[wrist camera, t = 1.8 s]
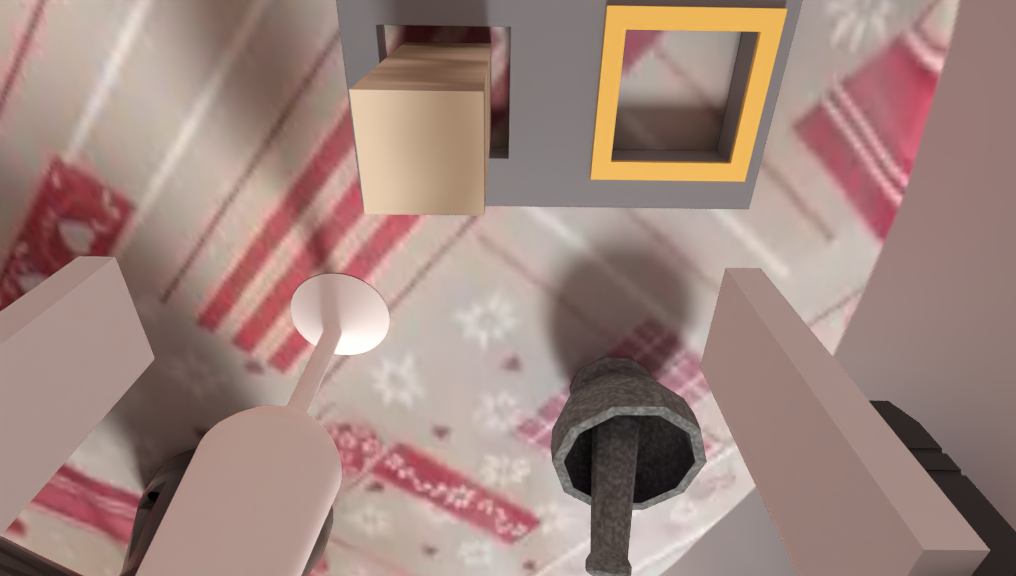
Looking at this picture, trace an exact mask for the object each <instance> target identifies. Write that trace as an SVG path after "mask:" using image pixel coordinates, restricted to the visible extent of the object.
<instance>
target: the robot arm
mask: <svg viewBox="0 0 1016 576" xmlns="http://www.w3.org/2000/svg"><path fill="white" fill-rule="evenodd" d="M154 359H155V357H154V355H153V352H152V350H151V347H150V345H149V342H148V339H147V337H146V334H145V332H144V329H143V327H142V324H141V321H140V319H139V316H138V314H137V311H136V309H135V306H134V303H133V301H132V298H131V296H130V293H129V291H128V288H127V285H126V283H125V280H124V278H123V275H122V273H121V270H120V267H119V265H118V262H117V260H116V257H100V256H79V257H77V258H76V259H74V260H73V261H71V262H70V263H69V264H67V265H66V266H64V267H63V268H62V269H60V270H59V271H57V272H56V273H54V274H53V275H52V276H50V277H49V278H47V279H46V280H44V281H43V282H42V283H40V284H39V285H37V286H36V287H35V288H33V289H32V290H30V291H29V292H27V293H26V294H25V295H23V296H22V297H20V298H19V299H17V300H16V301H15V302H13V303H12V304H10V305H9V306H8V307H6V308H5V309H3V310H2V311H0V576H83V575H81V574H78V573H76V572H74V571H72V570H70V569H68V568H66V567H64V566H61V565H59V564H57V563H55V562H53V561H51V560H49V559H47V558H44V557H42V556H40V555H38V554H36V553H34V552H32V551H30V550H28V549H26V548H24V547H22V546H20V545H18V544H16V543H14V542H12V541H10V540H8V539H6V538H4V537H2V536H1V535H2V534H3V533H4V532H5V530H6V529H7V528H8V527H9V526H10V525H11V523H12V522H13V521H14V520H15V519H16V518H17V517H18V515H19V514H20V513H21V512H22V511H23V510H24V509H25V507H26V506H27V505H28V504H29V503H30V502H31V501H32V499H33V498H34V497H35V496H36V495H37V494H38V492H39V491H40V490H41V489H42V488H43V487H44V486H45V484H46V483H47V482H48V481H49V480H50V479H51V478H52V476H53V475H54V474H55V473H56V472H57V471H58V470H59V468H60V467H61V466H62V465H63V464H64V463H65V461H66V460H67V459H68V458H69V457H70V456H71V455H72V453H73V452H74V451H75V450H76V449H77V448H78V447H79V445H80V444H81V443H82V442H83V441H84V440H85V439H86V437H87V436H88V435H89V434H90V433H91V432H92V430H93V429H94V428H95V427H96V426H97V425H98V424H99V422H100V421H101V420H102V419H103V418H104V417H105V416H106V414H107V413H108V412H109V411H110V410H111V409H112V408H113V406H114V405H115V404H116V403H117V402H118V401H119V399H120V398H121V397H122V396H123V395H124V394H125V393H126V391H127V390H128V389H129V388H130V387H131V386H132V385H133V383H134V382H135V381H136V380H137V379H138V378H139V377H140V375H141V374H142V373H143V372H144V371H145V370H146V368H147V367H148V366H149V365H150V364H151V363H152V362H153V360H154ZM700 368H701V370H702V372H703V374H704V377H705V379H706V381H707V383H708V385H709V387H710V389H711V391H712V394H713V396H714V398H715V400H716V402H717V404H718V406H719V408H720V410H721V413H722V415H723V417H724V419H725V421H726V423H727V425H728V427H729V430H730V432H731V434H732V436H733V438H734V440H735V442H736V444H737V447H738V449H739V451H740V453H741V455H742V457H743V459H744V461H745V463H746V466H747V468H748V470H749V472H750V474H751V476H752V478H753V480H754V483H755V485H756V487H757V489H758V491H759V493H760V495H761V497H762V500H763V502H764V504H765V506H766V508H767V510H768V512H769V514H770V516H771V519H772V521H773V523H774V525H775V527H776V529H777V531H778V533H779V536H780V538H781V540H782V542H783V544H784V546H785V548H786V550H787V553H788V554H789V557H790V559H791V561H792V563H793V565H794V567H795V569H796V571H797V574H798V576H1016V532H1015V531H1014V529H1013V528H1012V527H1011V526H1010V525H1009V524H1008V523H1007V522H1006V521H1005V519H1004V518H1003V517H1002V516H1001V515H1000V514H999V512H998V511H997V510H996V509H995V508H994V507H993V506H992V505H991V504H990V502H989V501H988V500H987V499H986V498H985V497H984V496H983V495H982V493H981V492H980V491H979V490H978V489H977V488H976V486H975V485H974V484H973V483H972V482H971V481H970V480H969V479H968V477H967V476H962V475H961V469H960V468H959V467H958V466H957V465H956V464H955V463H954V462H953V461H952V459H951V458H950V457H949V456H948V455H947V454H943V453H942V448H941V447H940V446H939V445H938V443H937V442H936V441H934V439H933V438H932V437H931V436H930V434H929V433H928V432H927V431H926V430H925V429H924V428H923V427H922V426H921V424H920V423H919V422H917V421H916V420H914V419H913V418H912V417H910V416H909V415H907V414H906V413H905V412H903V411H902V410H900V409H899V408H897V407H896V406H894V405H893V404H891V403H890V402H889V401H868V400H867V398H866V397H865V396H864V395H863V393H862V392H861V391H860V390H859V389H858V387H857V386H856V385H855V384H854V382H853V381H852V380H851V379H850V377H849V376H848V375H847V374H846V373H845V371H844V370H843V369H842V368H841V367H840V365H839V364H838V363H837V362H836V360H835V359H834V358H833V357H832V355H831V354H830V353H829V352H828V350H827V349H826V348H825V347H824V346H823V344H822V343H821V342H820V341H819V339H818V338H817V337H816V336H815V334H814V333H813V332H812V331H811V330H810V328H809V327H808V326H807V325H806V323H805V322H804V321H803V320H802V319H801V317H800V316H799V315H798V314H797V312H796V311H795V310H794V309H793V307H792V306H791V305H790V304H789V303H788V301H787V300H786V299H785V298H784V296H783V295H782V294H781V293H780V292H779V290H778V289H777V288H776V287H775V285H774V284H773V283H772V282H771V280H770V279H769V278H768V277H767V276H766V274H765V273H764V272H763V271H762V269H761V268H726V269H725V272H724V276H723V280H722V284H721V288H720V292H719V296H718V300H717V303H716V307H715V311H714V315H713V319H712V323H711V327H710V331H709V334H708V338H707V342H706V346H705V350H704V354H703V358H702V362H701V366H700ZM195 451H196V450H192V451H188V452H186V453H183V454H180V455H178V456H176V457H174V458H172V459H171V460H169V461H168V462H167V463H165V464H164V465H163V466H162V467H161V468H160V469H159V471H158V472H157V474H156V475H155V477H154V478H153V479H152V481H151V482H150V484H149V485H148V487H147V488H146V490H145V492H144V493H143V495H142V497H141V500H140V502H139V505H138V509H137V513H136V517H135V521H134V525H133V529H132V533H131V537H130V541H129V545H128V549H127V553H126V557H125V561H124V565H123V569H122V571H121V574H120V576H135V575H136V573H137V571H138V569H139V567H140V565H141V563H142V561H143V559H144V557H145V555H146V552H147V550H148V548H149V546H150V544H151V542H152V540H153V538H154V536H155V534H156V532H157V530H158V528H159V526H160V524H161V521H162V519H163V517H164V515H165V513H166V511H167V509H168V507H169V505H170V503H171V501H172V499H173V497H174V495H175V493H176V491H177V488H178V486H179V484H180V482H181V480H182V478H183V476H184V474H185V472H186V470H187V468H188V466H189V464H190V462H191V460H192V458H193V455H194V453H195ZM332 524H333V512H332V507H331V508H330V510H329V513H328V515H327V517H326V519H325V522H324V524H323V526H322V529H321V531H320V533H319V536H318V538H317V540H316V543H315V545H314V547H313V549H312V552H311V554H310V556H309V559H308V561H307V563H306V566H305V568H304V570H303V573H302V575H301V576H308V575H309V574H310V572H311V571H312V569H313V568H314V566H315V565H316V563H317V562H318V561H319V559H320V558H321V556H322V554H323V552H324V550H325V547H326V544H327V541H328V538H329V534H330V531H331V528H332Z"/></svg>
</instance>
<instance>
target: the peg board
mask: <svg viewBox="0 0 1016 576" xmlns="http://www.w3.org/2000/svg"><path fill="white" fill-rule="evenodd" d="M802 1H803V0H336V4H337V12H338V19H339V27H340V35H341V43H342V51H343V58H344V66H345V74H346V82H347V90H348V97H349V105H350V113H351V121H352V129H353V136H354V144H355V152H356V160H357V168H358V175H359V183H360V191H361V199H362V204H364V203H363V195H362V187H361V179H360V172H359V164H358V156H357V148H356V140H355V132H354V124H353V116H352V109H351V101H350V93H349V89H350V88H351V87H353V86H354V85H355V84H356V83H357V82H358V81H360V80H361V79H362V78H363V77H364V76H365V75H367V74H368V73H369V72H370V71H371V70H372V69H374V68H375V67H376V66H377V65H378V64H380V63H381V62H382V61H383V60H384V59H385V58H387V53H386V42H385V31H384V25H434V26H493V27H511V30H510V90H509V148H490V150H489V163H488V176H487V188H486V201H485V206H536V207H612V208H689V209H749V206H750V202H751V199H752V195H753V191H754V187H755V183H756V179H757V175H758V171H759V168H760V164H761V160H762V156H763V152H764V148H765V144H766V140H767V137H768V133H769V129H770V125H771V121H772V117H773V113H774V109H775V106H776V102H777V98H778V94H779V90H780V86H781V82H782V78H783V75H784V71H785V67H786V63H787V59H788V55H789V51H790V48H791V44H792V40H793V36H794V32H795V28H796V24H797V20H798V17H799V13H800V9H801V5H802ZM626 29H629V30H688V31H742V35H741V40H740V45H739V49H738V54H737V59H736V63H735V68H734V73H733V78H732V82H731V87H730V92H729V96H728V101H727V106H726V110H725V115H724V120H723V124H722V129H721V134H720V138H719V143H718V148H717V151H694V150H624V149H612V148H613V139H614V130H615V121H616V113H617V104H618V95H619V87H620V78H621V69H622V60H623V52H624V43H625V34H626Z"/></svg>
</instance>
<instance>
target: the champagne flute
mask: <svg viewBox="0 0 1016 576" xmlns="http://www.w3.org/2000/svg"><path fill="white" fill-rule="evenodd" d="M290 310H291V317H292V320H293V322H294V325H295V326H296V328H297V329H298V331H299V332H300V334H301V335H302V336H303V337H304V338H305V339H306V340H308V341H309V342H310V343H311V344H313V345H314V346H316V347H315V349H314V351H313V353H312V355H311V357H310V359H309V361H308V364H307V366H306V368H305V370H304V372H303V374H302V376H301V378H300V380H299V382H298V384H297V386H296V388H295V390H294V392H293V394H292V396H291V399H290V401H289V403H288V405H287V406H275V405H267V406H259V407H255V408H251V409H248V410H244V411H241V412H238V413H236V414H234V415H232V416H230V417H228V418H226V419H224V420H222V421H220V422H219V423H217V424H216V425H215V426H214V427H213V428H211V429H210V430H209V431H208V432H207V433H206V434H205V436H204V437H203V438H202V440H201V441H200V443H199V445H198V447H197V449H196V451H195V453H194V455H193V458H192V460H191V462H190V464H189V466H188V468H187V470H186V472H185V474H184V476H183V478H182V480H181V482H180V484H179V486H178V488H177V491H176V493H175V495H174V497H173V499H172V501H171V503H170V505H169V507H168V509H167V511H166V513H165V515H164V517H163V519H162V521H161V524H160V526H159V528H158V530H157V532H156V534H155V536H154V538H153V540H152V542H151V544H150V546H149V548H148V550H147V552H146V555H145V557H144V559H143V561H142V563H141V565H140V567H139V569H138V571H137V573H136V575H135V576H301V575H302V573H303V570H304V568H305V566H306V563H307V561H308V559H309V556H310V554H311V552H312V549H313V547H314V545H315V543H316V540H317V538H318V536H319V533H320V531H321V529H322V526H323V524H324V522H325V519H326V517H327V515H328V513H329V510H330V508H331V506H332V503H333V501H334V499H335V496H336V494H337V492H338V490H339V487H340V483H341V478H342V466H341V460H340V457H339V453H338V451H337V448H336V445H335V443H334V441H333V440H332V438H331V436H330V435H329V433H328V432H327V430H326V429H325V428H324V427H323V426H322V425H321V424H320V423H319V422H318V421H317V420H316V419H314V418H313V417H312V416H310V415H309V414H308V412H309V410H310V408H311V405H312V403H313V401H314V398H315V396H316V394H317V391H318V389H319V387H320V384H321V382H322V380H323V377H324V375H325V373H326V370H327V368H328V366H329V363H330V361H331V359H332V357H333V354H334V353H335V354H340V355H354V354H360V353H363V352H367V351H369V350H371V349H373V348H374V347H376V346H377V345H378V344H380V342H381V341H382V340H383V339H384V338H385V336H386V334H387V332H388V328H389V324H390V320H389V312H388V309H387V306H386V304H385V302H384V300H383V299H382V297H381V296H380V295H379V294H378V292H377V291H375V290H374V289H373V288H372V287H371V286H370V285H368V284H366V283H365V282H363V281H361V280H359V279H357V278H354V277H352V276H348V275H343V274H333V273H330V274H321V275H318V276H315V277H312V278H310V279H308V280H306V281H305V282H303V283H302V284H301V285H300V286H299V287H298V288H297V290H296V291H295V293H294V294H293V297H292V300H291V307H290Z"/></svg>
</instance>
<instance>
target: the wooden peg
mask: <svg viewBox="0 0 1016 576" xmlns="http://www.w3.org/2000/svg"><path fill="white" fill-rule="evenodd" d="M349 93H350V101H351V109H352V116H353V124H354V132H355V140H356V148H357V156H358V164H359V172H360V179H361V187H362V195H363V203H364V211H365V214H406V215H484V214H485V201H486V188H487V176H488V163H489V150H490V138H491V43H440V42H404V43H403V44H402V45H401V46H399V47H398V48H397V49H396V50H395V51H394V52H392V53H391V54H390V55H389V56H388V57H387V58H385V59H384V60H383V61H382V62H381V63H380V64H378V65H377V66H376V67H375V68H374V69H372V70H371V71H370V72H369V73H368V74H367V75H365V76H364V77H363V78H362V79H361V80H360V81H358V82H357V83H356V84H355V85H354V86H353V87H351V88H350V89H349Z"/></svg>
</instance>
